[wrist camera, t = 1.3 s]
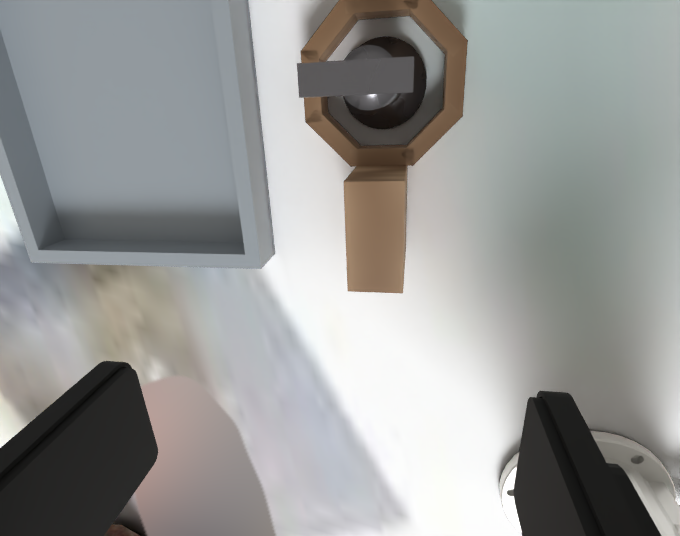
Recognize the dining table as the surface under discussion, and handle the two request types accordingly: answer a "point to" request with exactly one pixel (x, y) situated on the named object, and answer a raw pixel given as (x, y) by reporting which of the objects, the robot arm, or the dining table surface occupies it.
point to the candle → (119, 531)
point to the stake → (370, 81)
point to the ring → (382, 160)
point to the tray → (134, 132)
